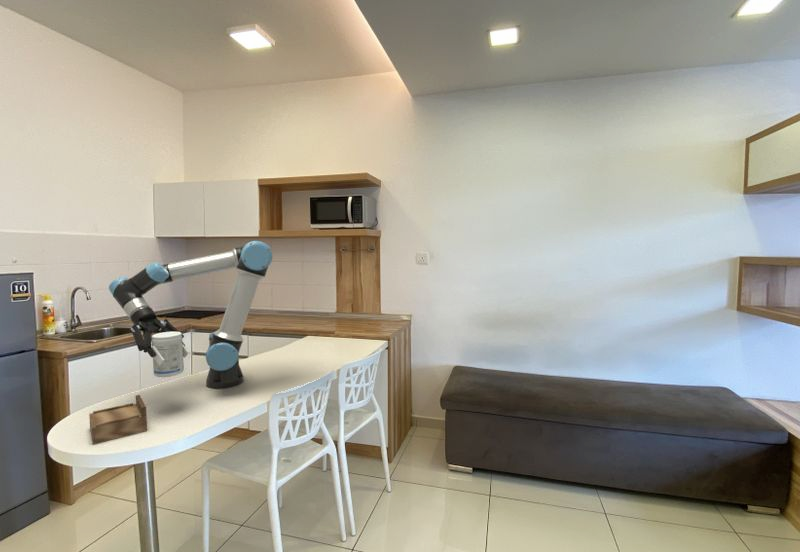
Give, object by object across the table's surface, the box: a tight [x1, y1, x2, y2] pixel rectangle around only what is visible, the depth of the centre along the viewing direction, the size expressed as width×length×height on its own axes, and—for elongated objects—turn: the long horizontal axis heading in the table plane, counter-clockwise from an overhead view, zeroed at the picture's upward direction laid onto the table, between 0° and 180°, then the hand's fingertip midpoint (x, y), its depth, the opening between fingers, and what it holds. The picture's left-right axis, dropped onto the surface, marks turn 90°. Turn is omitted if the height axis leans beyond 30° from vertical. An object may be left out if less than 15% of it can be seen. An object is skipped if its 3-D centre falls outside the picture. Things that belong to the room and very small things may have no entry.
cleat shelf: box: [88, 394, 148, 445], centre depth 129 cm, size 14×14×8 cm
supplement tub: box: [151, 331, 185, 378], centre depth 143 cm, size 10×10×15 cm
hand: (174, 358), depth 142 cm, fingers closed on supplement tub, 10 cm apart
